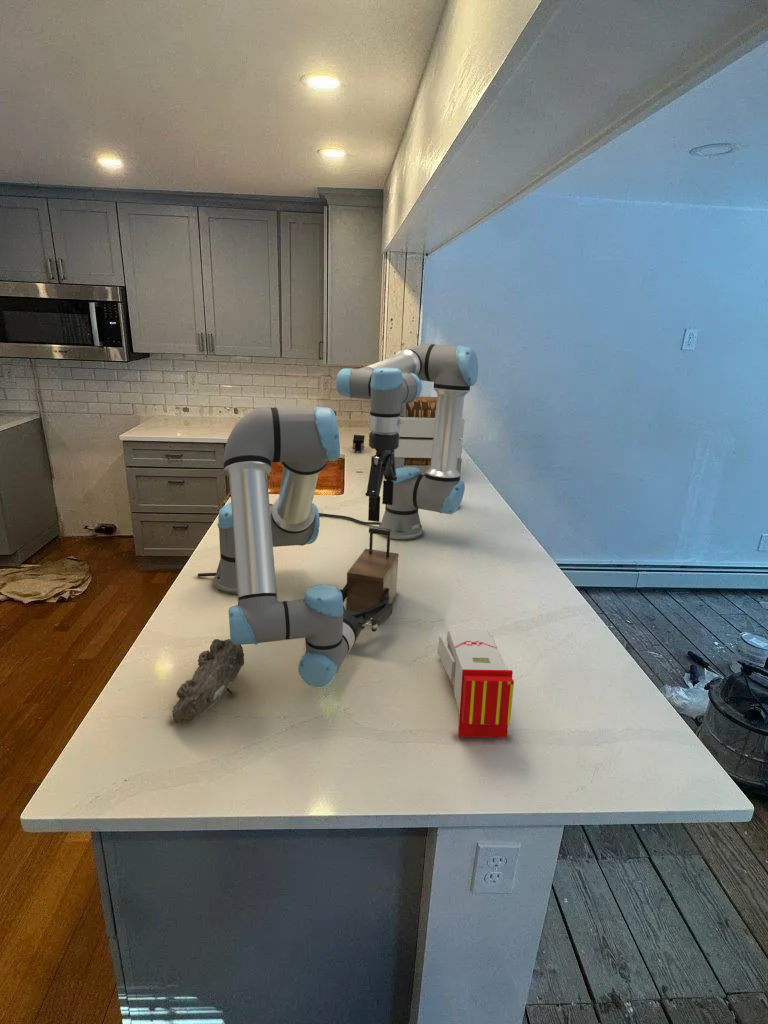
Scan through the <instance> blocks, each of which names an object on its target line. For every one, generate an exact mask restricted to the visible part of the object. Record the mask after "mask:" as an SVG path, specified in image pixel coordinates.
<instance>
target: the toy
mask: <svg viewBox="0 0 768 1024" xmlns="http://www.w3.org/2000/svg"><path fill="white" fill-rule="evenodd" d="M446 640H447V643H446V641H445V639H444V636H443V635H442V634H439V637H438V646H437V656H438V657H439V659H440V661H441V663H442V666H443V668H444V670H445V672H446V674H447V677H448V679H449V681H450V684H451V687H452V690H453V693H454V697H455V701H456V705H457V708H458V711H459V714H458V715H459V716H458V730H457V731H458V732H457V737H458V738H508V731H509V726H510V725H511V717H512V707H513V697H514V696H513V695H514V684H515V680H514V679H513V673H514V671H513V670H512V669H508V667H507V665H506V662H505V661H504V659H503V658H502V655H501V653H500V651H499V649H498V647H497V643H496V639H495V637H494V635H493V634H491V632H490V631H489V629H467V628H466V629H465V628H463V629H461V628H460V629H459V628H448V630H447V639H446Z"/></svg>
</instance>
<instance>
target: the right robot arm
mask: <svg viewBox="0 0 768 1024" xmlns="http://www.w3.org/2000/svg"><path fill="white" fill-rule="evenodd" d="M478 378H479V361H478V356H477V353H476V351H475V350H474V349H473V348H472V347H470V346H464V345H451V344H436V343H435V344H434V343H423V344H418V345H413V346H410V347H406V348H403V349H401V350H399V351H397V352H396V353H395V354H394V355H393V356H390V357H388V358H385V359H382V360H380V361H377V362H374V363H372V364H369V365H366V366H363V367H360V368H353V367H350V368H342V369H340V370H339V371H338V373H337V375H336V380H335V383H336V384H335V385H336V391H337V393H338V394H339V395H340V396H341V397H346V398H350V399H359V400H360V399H361V400H370V406H369V407H370V410H369V425H368V430H369V431H370V432H369V434H368V446H369V448H371V449H373V450H375V454H374V455H372V456H371V458H370V461H371V462H370V469H369V475H368V482H367V488H366V492H365V497H368V510H367V511H368V513H367V514H368V515H367V516H368V517H367V521H362V520H359V519H357V518H354V517H352V516H347V515H339V514H331V513H323V512H319V517H320V516H322V517H330V518H337V519H343V520H345V519H346V520H350V521H353V522H356V523H358V524H361V525H367V526H373V525H374V526H375V525H376V526H378V527H379V528H387V529H391V530H392V533H391V536H390V540H395V541H410V540H415V539H418V538H420V537H421V536H422V535H423V525H422V524H421V518H420V515H419V510H423V511H429V512H435V513H439V514H446V515H452V514H454V513H456V512H457V510H458V509H459V508H460V506H461V503H462V502H463V501H462V500H463V497H464V494H465V489H466V487H465V485H466V484H465V482H464V481H463V480H462V479H461V474H460V473H459V472H458V471H457V469H456V467H457V458H458V449H459V440H460V439H461V438H460V431H461V422H462V419H463V414H464V413H463V410H464V403H465V397H466V395H467V394H468V393H469V392H470V390H471V387H473V386H475V385H476V384H477V381H478ZM422 381H423V382H431V383H433V390H434V391H435V392H436V397H437V405H436V415H435V426H434V436H433V446H432V456H431V465H430V466H429V468H427V469H426V470H425V471H424V472H425V473H424V474H422V470H421V468H419V467H416V466H406V467H405V466H404V468H397V469H396V467H395V455H394V450H395V449H397V448H398V447H399V434H398V433H397V432H398V431H399V427H400V424H402V420H400V410H401V404H404V403H409V402H411V401H413V400H415V399H416V398H417V397H420V395H421V393H422V389H423V386H422ZM383 479H384V480H383ZM381 490H382V499H381V496H380V493H381ZM228 497H229V498H231V493H229V495H228ZM381 500H382V501H381ZM381 502H382V505H385V507H384V508H385V509H384V513H383V515H382V519H381V522H380V517H381V516H380V515H381V514H380V513H381ZM273 504H274V503H273ZM273 504H272V503H269V505H273ZM382 537H385V538H387V536H386V535H382Z"/></svg>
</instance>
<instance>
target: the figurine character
mask: <svg viewBox="0 0 768 1024" xmlns="http://www.w3.org/2000/svg"><path fill="white" fill-rule="evenodd" d="M351 447H352V450H354V453H357V452H359V453H360V454H361V453H362V450H364V449H365V435H361V434H353V439H352V446H351Z"/></svg>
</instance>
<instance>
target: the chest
mask: <svg viewBox="0 0 768 1024" xmlns="http://www.w3.org/2000/svg"><path fill="white" fill-rule="evenodd" d="M398 570H399V558H398V559H397V561H396V563H395V564H394V566H393V568H392V569H391V571H390V573H389V574H388V576H387V578H386V579H385V581H384V583H382V582H375V581H369V580H363V579H357V578H351V577H347V576H346V584H347V597H346V603H345V605H346V606H345V610H346V609H347V610H351V611H359V610H361V609H367V608H369V607H371V606H373V605H375V604H378V603H379V599H380V598H381V596H382V594H383V593H384V591H385V589H386V588H389V598H390V600H389V603H391V604H393V601H394V599H395V598H396V595H397V589H398V588H397V586H398Z"/></svg>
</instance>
